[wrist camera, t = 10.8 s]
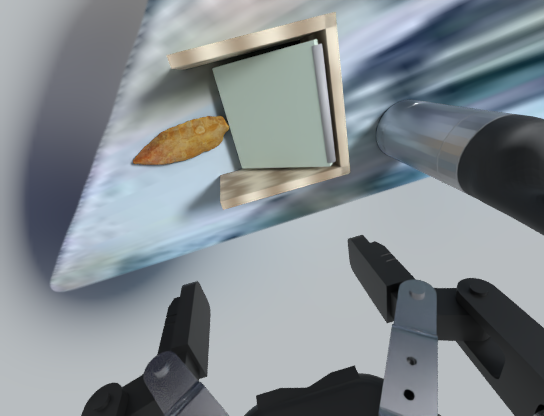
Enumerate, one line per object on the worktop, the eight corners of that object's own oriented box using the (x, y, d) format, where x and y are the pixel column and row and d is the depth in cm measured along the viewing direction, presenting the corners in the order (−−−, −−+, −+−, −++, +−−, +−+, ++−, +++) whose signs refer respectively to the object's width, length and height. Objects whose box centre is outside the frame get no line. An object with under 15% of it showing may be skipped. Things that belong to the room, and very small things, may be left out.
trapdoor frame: (307, 26, 36) (335, 11, 27) (324, 153, 44) (350, 173, 35) (180, 59, 35) (166, 55, 26) (222, 182, 43) (223, 209, 34)
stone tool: (235, 142, 38) (142, 180, 39) (236, 138, 40) (147, 174, 41) (220, 107, 36) (121, 148, 37) (221, 105, 38) (127, 144, 39)
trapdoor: (322, 37, 28) (319, 38, 27) (337, 162, 34) (334, 166, 33) (217, 67, 35) (211, 68, 34) (245, 165, 42) (241, 168, 41)
